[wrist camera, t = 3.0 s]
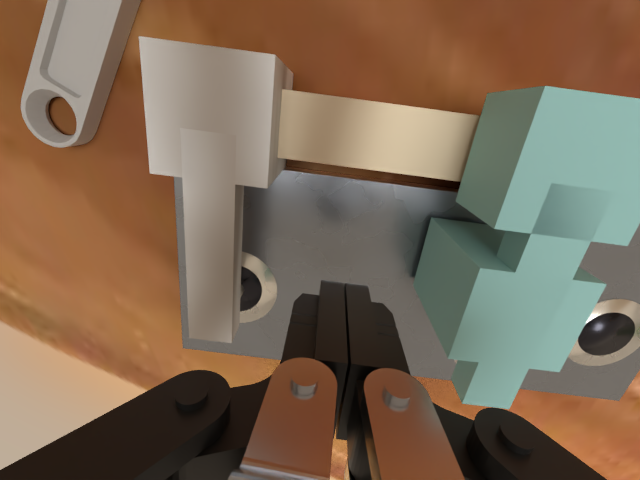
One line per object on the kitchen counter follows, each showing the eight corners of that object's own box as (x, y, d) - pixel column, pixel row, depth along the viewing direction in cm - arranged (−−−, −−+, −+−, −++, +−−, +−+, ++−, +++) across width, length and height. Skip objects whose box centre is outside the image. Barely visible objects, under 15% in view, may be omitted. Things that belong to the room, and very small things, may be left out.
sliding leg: (403, 320, 17) (432, 402, 12) (464, 96, 12) (544, 86, 8) (477, 329, 17) (536, 415, 12) (562, 109, 13) (702, 107, 8)
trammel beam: (187, 279, 18) (139, 334, 13) (178, 58, 14) (104, 31, 9) (638, 335, 18) (738, 407, 14) (762, 137, 14) (963, 148, 10)
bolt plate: (190, 336, 19) (181, 349, 18) (182, 152, 15) (171, 155, 14) (605, 387, 20) (620, 402, 19) (709, 221, 15) (736, 229, 14)
